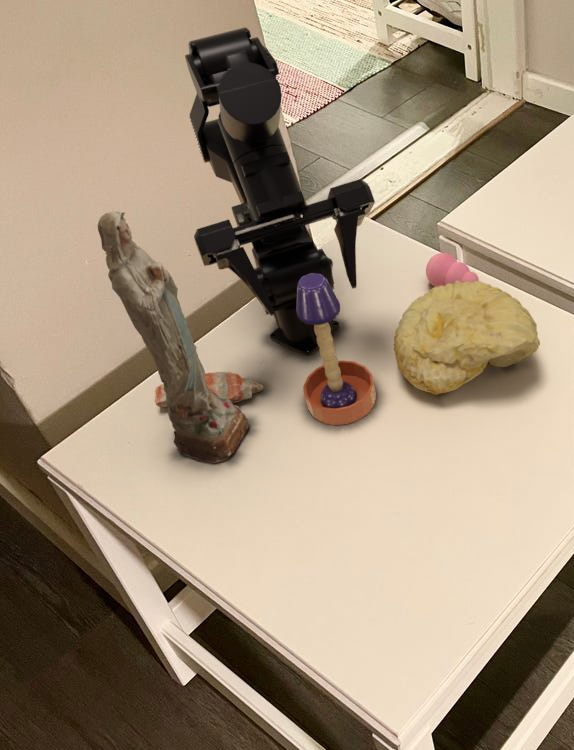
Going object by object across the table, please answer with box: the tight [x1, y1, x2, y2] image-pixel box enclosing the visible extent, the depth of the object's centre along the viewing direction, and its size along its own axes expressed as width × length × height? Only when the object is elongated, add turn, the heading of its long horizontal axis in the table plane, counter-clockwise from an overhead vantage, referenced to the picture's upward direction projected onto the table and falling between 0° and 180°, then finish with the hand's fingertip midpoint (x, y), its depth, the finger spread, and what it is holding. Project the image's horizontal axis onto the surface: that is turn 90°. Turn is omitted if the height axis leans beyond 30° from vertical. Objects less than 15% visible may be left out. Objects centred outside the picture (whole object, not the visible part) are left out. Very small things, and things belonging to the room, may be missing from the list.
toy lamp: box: [296, 273, 357, 409], centre depth 99 cm, size 5×5×17 cm
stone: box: [154, 371, 264, 407], centre depth 106 cm, size 12×2×5 cm
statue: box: [97, 211, 250, 464], centre depth 91 cm, size 8×7×30 cm
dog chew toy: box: [425, 252, 480, 287], centre depth 116 cm, size 4×4×7 cm
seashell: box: [393, 279, 541, 396], centre depth 104 cm, size 17×11×15 cm
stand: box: [303, 360, 377, 426], centre depth 105 cm, size 8×8×2 cm
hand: (313, 301), depth 96 cm, fingers open, 9 cm apart
